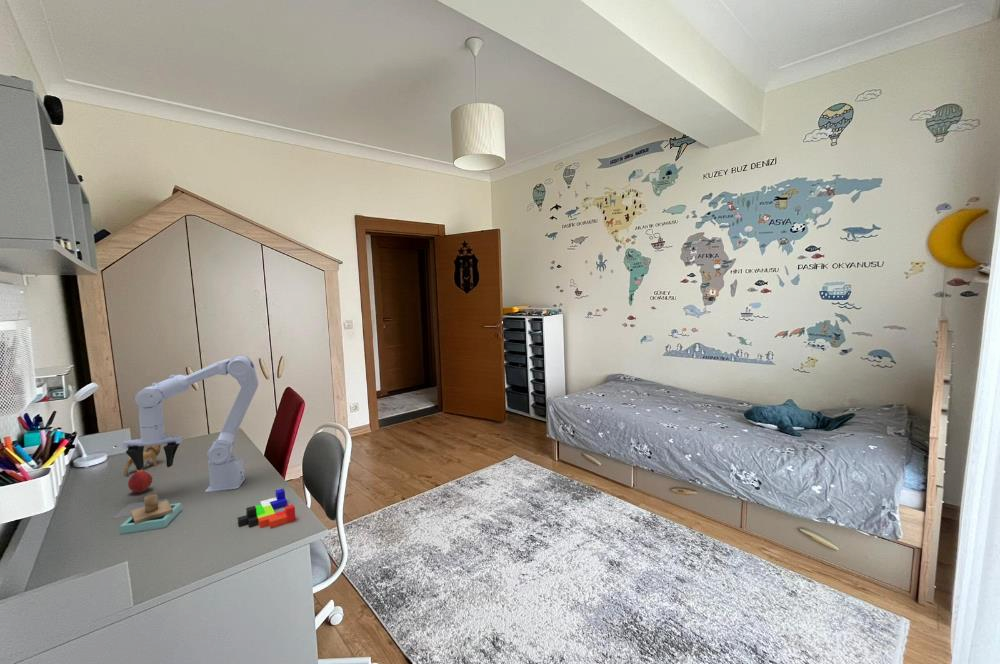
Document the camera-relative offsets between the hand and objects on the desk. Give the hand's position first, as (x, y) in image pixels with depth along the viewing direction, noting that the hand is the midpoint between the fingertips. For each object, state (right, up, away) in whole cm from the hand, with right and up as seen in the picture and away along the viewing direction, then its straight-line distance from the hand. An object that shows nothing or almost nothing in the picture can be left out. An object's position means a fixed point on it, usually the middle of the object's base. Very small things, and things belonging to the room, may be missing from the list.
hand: (155, 467), depth 128 cm
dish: (+11, -11, -14) cm, 21 cm away
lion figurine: (-25, -9, +24) cm, 36 cm away
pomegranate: (-8, -10, +4) cm, 14 cm away
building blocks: (+41, -11, -11) cm, 44 cm away
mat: (+1, -10, -6) cm, 12 cm away
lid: (+11, -8, -14) cm, 19 cm away
